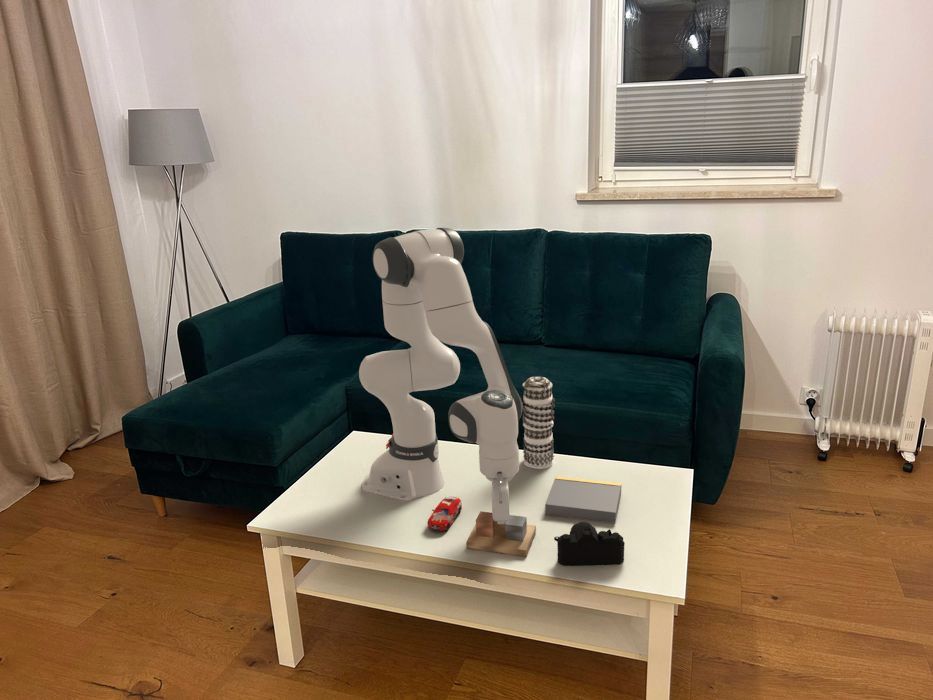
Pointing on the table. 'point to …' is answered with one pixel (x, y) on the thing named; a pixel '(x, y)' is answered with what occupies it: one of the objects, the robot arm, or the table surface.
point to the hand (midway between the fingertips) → (500, 516)
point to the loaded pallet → (501, 541)
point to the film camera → (589, 547)
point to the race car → (445, 513)
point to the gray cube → (516, 528)
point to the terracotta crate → (484, 524)
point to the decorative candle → (538, 422)
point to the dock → (584, 499)
